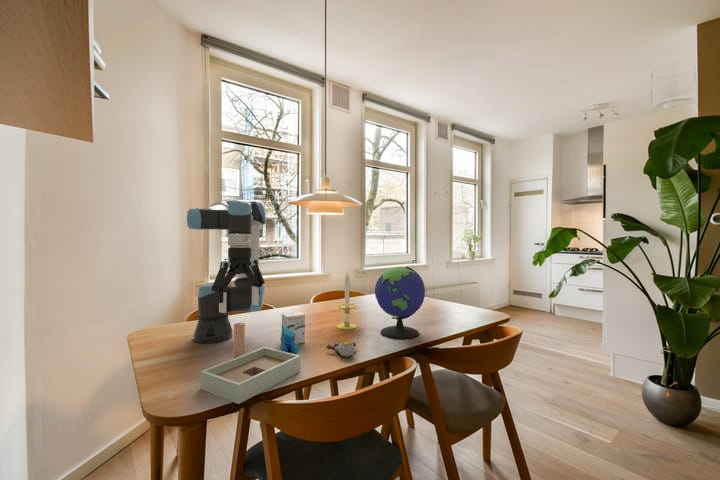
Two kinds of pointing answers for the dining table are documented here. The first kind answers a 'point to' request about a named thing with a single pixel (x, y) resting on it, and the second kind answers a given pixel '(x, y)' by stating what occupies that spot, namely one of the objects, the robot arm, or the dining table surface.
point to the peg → (239, 339)
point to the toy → (343, 348)
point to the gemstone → (288, 341)
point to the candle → (346, 308)
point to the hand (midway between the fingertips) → (239, 308)
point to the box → (249, 374)
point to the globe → (400, 299)
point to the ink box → (295, 325)
